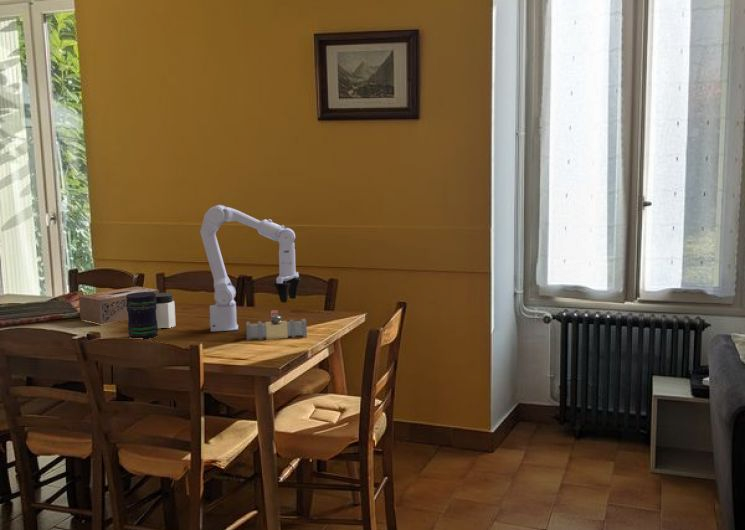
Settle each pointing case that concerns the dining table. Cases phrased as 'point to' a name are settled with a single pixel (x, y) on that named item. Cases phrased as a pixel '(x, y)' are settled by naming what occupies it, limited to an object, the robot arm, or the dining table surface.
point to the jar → (165, 310)
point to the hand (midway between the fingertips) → (288, 300)
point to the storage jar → (142, 315)
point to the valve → (276, 329)
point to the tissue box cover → (107, 305)
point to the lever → (275, 317)
